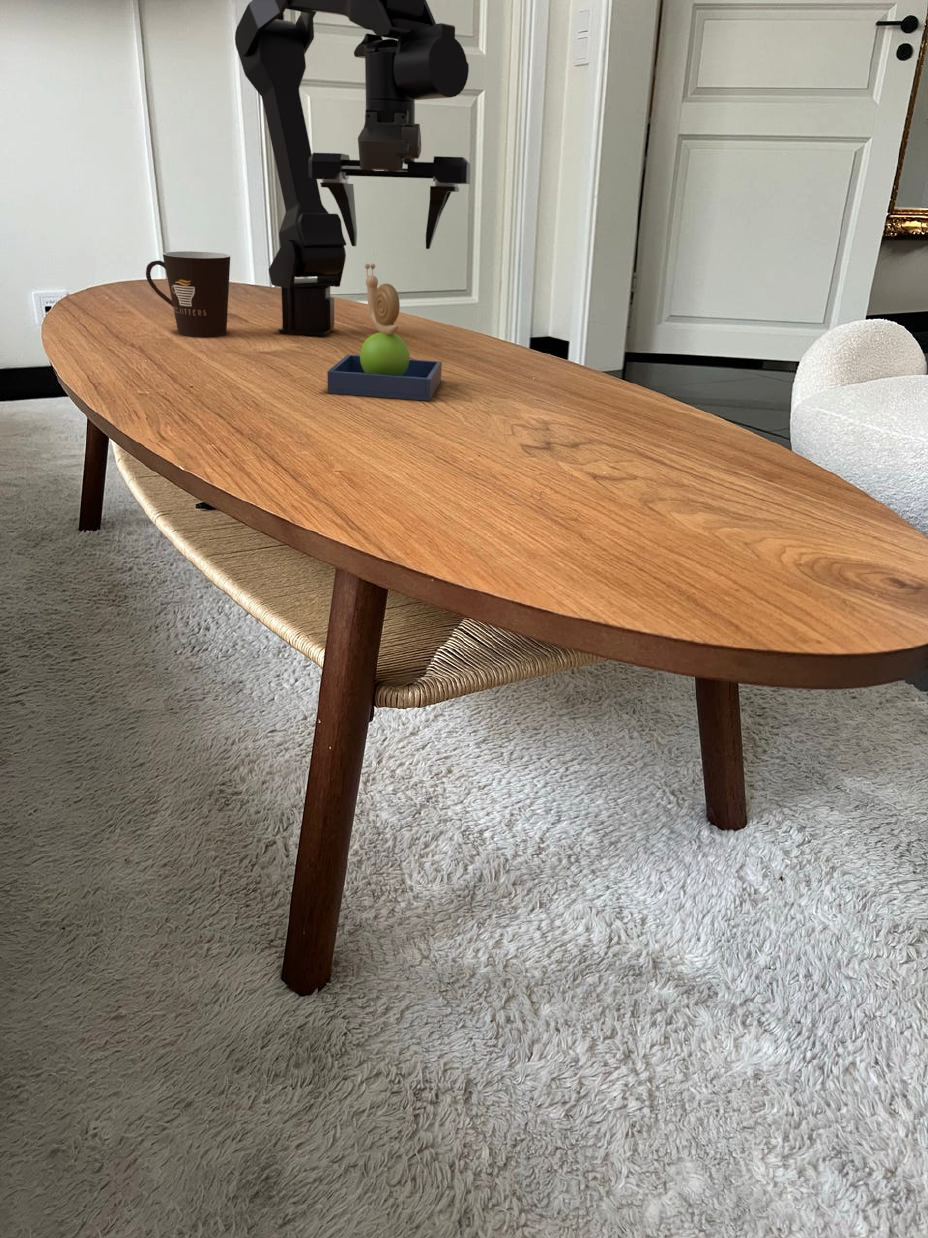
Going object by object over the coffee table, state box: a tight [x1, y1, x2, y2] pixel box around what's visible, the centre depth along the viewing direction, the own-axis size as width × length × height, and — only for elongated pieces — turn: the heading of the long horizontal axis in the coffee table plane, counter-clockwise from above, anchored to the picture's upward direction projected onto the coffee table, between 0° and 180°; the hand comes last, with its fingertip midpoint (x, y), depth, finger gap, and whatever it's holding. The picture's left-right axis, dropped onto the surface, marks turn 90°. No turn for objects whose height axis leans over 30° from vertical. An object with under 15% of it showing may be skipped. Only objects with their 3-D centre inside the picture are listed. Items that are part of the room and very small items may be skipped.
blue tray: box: [326, 353, 443, 402], centre depth 100 cm, size 11×10×2 cm
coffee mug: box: [145, 250, 231, 338], centre depth 122 cm, size 12×9×10 cm
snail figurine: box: [359, 263, 411, 376], centre depth 98 cm, size 5×6×12 cm
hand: (390, 247), depth 111 cm, fingers open, 9 cm apart
